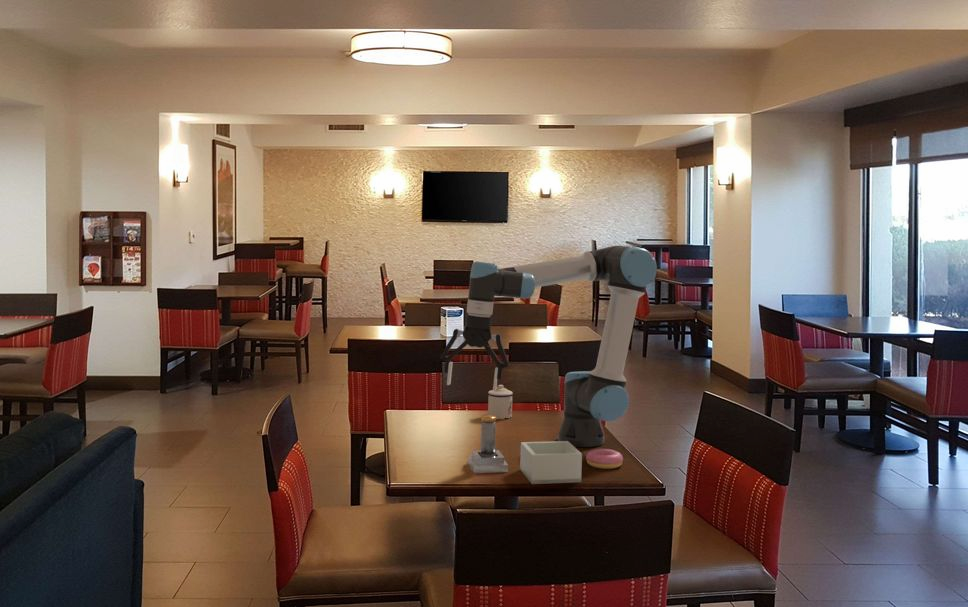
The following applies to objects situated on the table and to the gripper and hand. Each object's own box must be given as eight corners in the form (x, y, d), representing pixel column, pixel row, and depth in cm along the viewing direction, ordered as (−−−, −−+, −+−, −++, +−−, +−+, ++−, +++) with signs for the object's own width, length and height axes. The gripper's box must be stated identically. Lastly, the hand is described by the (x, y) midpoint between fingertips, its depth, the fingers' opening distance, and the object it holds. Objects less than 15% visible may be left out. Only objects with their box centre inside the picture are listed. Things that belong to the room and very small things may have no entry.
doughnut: (629, 469, 262) (629, 455, 262) (594, 471, 259) (594, 457, 259) (613, 459, 273) (613, 445, 272) (579, 461, 270) (580, 447, 269)
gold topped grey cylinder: (493, 458, 263) (494, 414, 261) (497, 462, 258) (498, 418, 257) (478, 458, 262) (479, 415, 260) (481, 463, 257) (482, 418, 256)
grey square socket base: (500, 462, 266) (501, 449, 266) (508, 471, 256) (508, 458, 256) (467, 463, 264) (467, 450, 264) (473, 473, 254) (473, 459, 254)
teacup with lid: (514, 419, 321) (514, 387, 320) (488, 419, 320) (489, 387, 319) (509, 412, 333) (510, 381, 332) (485, 412, 332) (485, 381, 331)
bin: (567, 467, 262) (567, 440, 261) (581, 482, 248) (582, 453, 247) (520, 469, 259) (520, 442, 258) (531, 483, 245) (532, 455, 244)
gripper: (434, 311, 258) (427, 383, 260) (520, 321, 256) (512, 394, 257) (439, 309, 266) (431, 380, 267) (522, 319, 263) (514, 390, 264)
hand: (471, 387), depth 262 cm, fingers open, 13 cm apart
